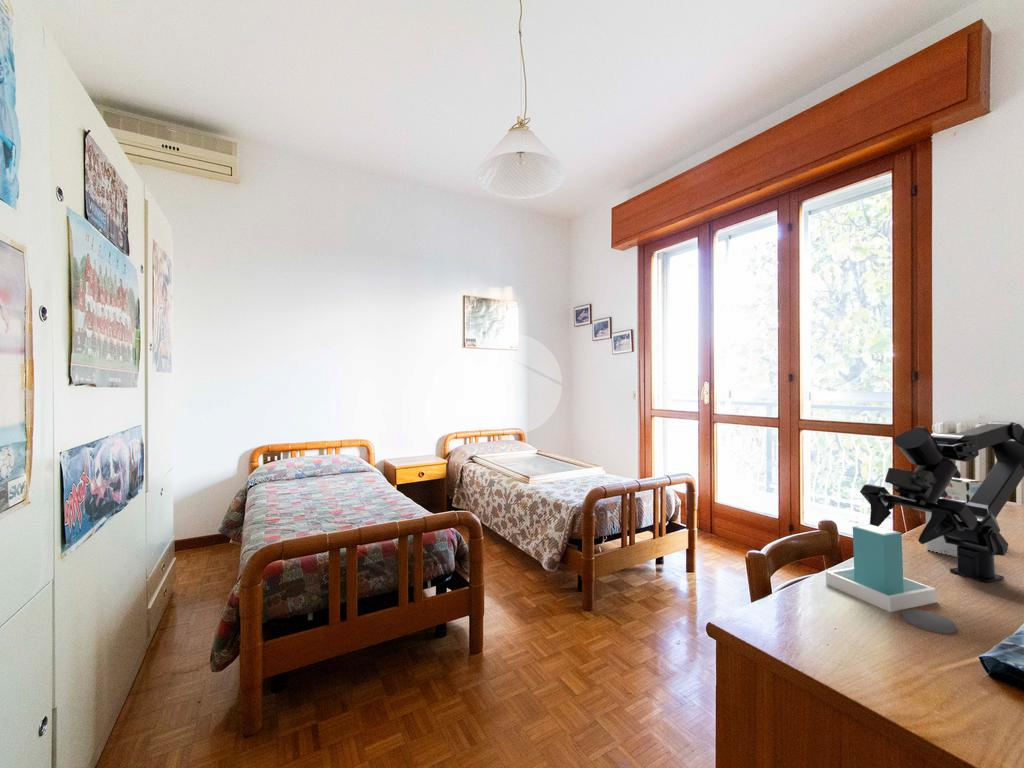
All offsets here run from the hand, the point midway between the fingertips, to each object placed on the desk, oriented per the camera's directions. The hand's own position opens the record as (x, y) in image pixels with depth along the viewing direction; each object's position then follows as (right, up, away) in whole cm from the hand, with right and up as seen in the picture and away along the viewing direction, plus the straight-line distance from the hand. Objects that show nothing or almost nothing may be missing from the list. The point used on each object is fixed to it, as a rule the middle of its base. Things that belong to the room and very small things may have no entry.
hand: (894, 535), depth 91 cm
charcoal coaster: (-6, -11, -13) cm, 18 cm away
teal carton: (-5, -11, -2) cm, 12 cm away
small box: (+33, -12, +21) cm, 41 cm away
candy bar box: (+48, -12, +34) cm, 60 cm away
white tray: (-5, -12, -2) cm, 13 cm away
